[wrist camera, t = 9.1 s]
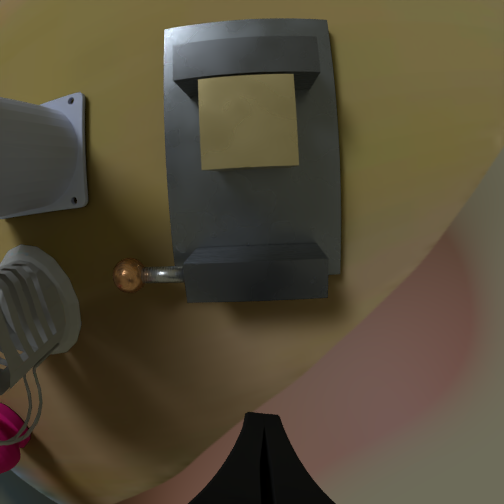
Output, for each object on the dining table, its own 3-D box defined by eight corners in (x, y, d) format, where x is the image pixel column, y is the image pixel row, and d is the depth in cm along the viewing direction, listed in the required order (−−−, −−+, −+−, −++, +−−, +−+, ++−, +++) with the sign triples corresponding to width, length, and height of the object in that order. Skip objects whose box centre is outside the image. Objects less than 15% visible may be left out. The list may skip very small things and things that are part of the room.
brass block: (217, 171, 18) (201, 170, 13) (214, 103, 17) (197, 79, 12) (288, 167, 17) (298, 165, 13) (284, 99, 16) (293, 73, 12)
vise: (180, 275, 20) (160, 302, 16) (168, 35, 16) (146, 5, 12) (336, 269, 20) (355, 294, 15) (323, 26, 16) (338, -7, 12)
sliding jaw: (129, 281, 19) (105, 302, 16) (124, 251, 19) (99, 266, 15) (316, 275, 19) (327, 297, 15) (316, 243, 18) (328, 258, 15)
